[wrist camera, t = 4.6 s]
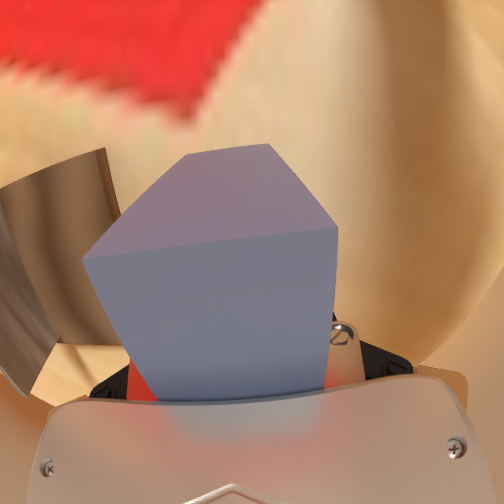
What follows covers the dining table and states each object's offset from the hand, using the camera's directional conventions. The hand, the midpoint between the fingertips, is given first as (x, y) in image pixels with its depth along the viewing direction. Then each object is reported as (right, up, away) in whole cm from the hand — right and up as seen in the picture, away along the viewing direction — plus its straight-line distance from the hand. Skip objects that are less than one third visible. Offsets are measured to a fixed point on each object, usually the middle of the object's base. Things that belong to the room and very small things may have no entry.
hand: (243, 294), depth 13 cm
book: (0, +2, +3) cm, 3 cm away
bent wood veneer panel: (-14, +1, +7) cm, 16 cm away
